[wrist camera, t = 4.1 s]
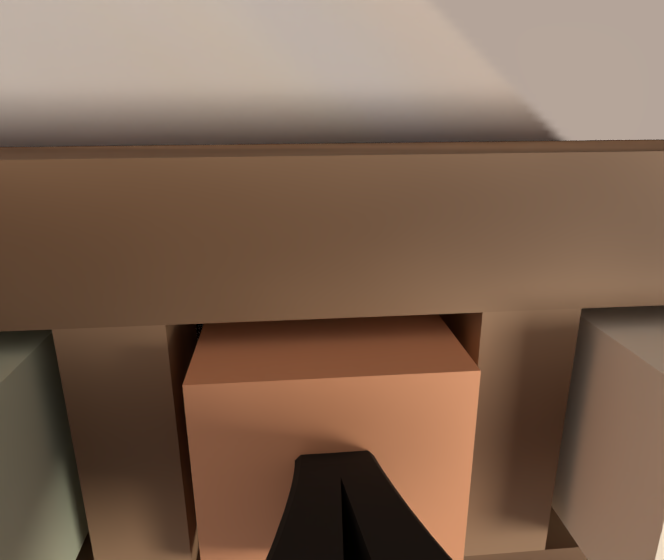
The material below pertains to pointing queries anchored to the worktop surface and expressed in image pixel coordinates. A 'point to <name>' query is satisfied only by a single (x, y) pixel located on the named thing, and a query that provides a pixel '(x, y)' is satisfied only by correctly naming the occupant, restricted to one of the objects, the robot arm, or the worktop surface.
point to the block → (36, 454)
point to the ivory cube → (615, 436)
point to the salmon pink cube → (327, 420)
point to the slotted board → (321, 294)
